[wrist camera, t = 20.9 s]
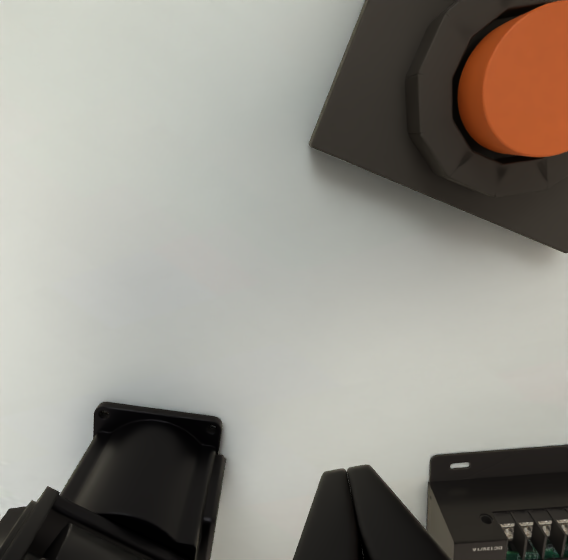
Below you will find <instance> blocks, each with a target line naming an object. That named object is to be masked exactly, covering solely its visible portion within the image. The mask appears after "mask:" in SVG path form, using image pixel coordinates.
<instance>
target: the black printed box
mask: <svg viewBox="0 0 568 560" xmlns="http://www.w3.org/2000/svg"><path fill="white" fill-rule="evenodd" d="M463 462H469V463H470V465H469V467H467V468H454V469H451V468H450V465H451V464H452V463H463ZM427 532H428V533H429V534H430V535H431V536H432V537H433V539H434V540H435V541H436V542H437V543H438V544H439V545H440V547H441V548H442V549H443V550H444V551H445V552H446V554H447V555H448V556H449V557H450V558H451V559H452V560H568V445H562V446H549V447H535V448H522V449H509V450H496V451H482V452H469V453H456V454H443V455H435V456H433V457H432V458H431V460H430V482H428V512H427Z"/></svg>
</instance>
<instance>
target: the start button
mask: <svg viewBox="0 0 568 560" xmlns="http://www.w3.org/2000/svg"><path fill="white" fill-rule="evenodd" d="M457 99H458V109H459V114H460V117H461V120H462V123H463V125H464V127H465V129H466V131H467V132H468V133H469V135H470V136H471V137H472V138H473V139H474V140H475V141H476V142H477V143H478V144H480V145H481V146H482V147H484V148H486V149H488V150H490V151H493V152H497V153H502V154H510V155H519V156H529V157H549V156H554V155H559V154H561V153H564V152H567V151H568V0H562V1H556V2H551V3H547V4H545V5H542V6H540V7H537V8H535V9H533V10H531V11H529V12H527V13H525V14H523V15H520V16H518V17H516V18H514V19H512V20H510V21H508V22H506V23H504V24H502V25H500V26H498V27H497V28H495V29H494V30H492V31H491V32H490V33H489V34H487V35H486V36H485V37H484V38H483V39H482V40H481V41H480V42H479V43H478V45H477V46H476V47H475V48H474V50H473V51H472V53H471V54H470V56H469V58H468V59H467V61H466V63H465V66H464V68H463V70H462V73H461V77H460V80H459V86H458V98H457Z"/></svg>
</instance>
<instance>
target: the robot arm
mask: <svg viewBox="0 0 568 560" xmlns="http://www.w3.org/2000/svg"><path fill="white" fill-rule="evenodd" d="M102 411H106V412H107V413H108V414H104V413H103V412H102ZM210 425H213V426H215V427H216V428H210V427H209V426H210ZM221 431H222V422H221V420H220V419H219V418H217V417H214V416H207V415H199V414H192V413H184V412H177V411H170V410H162V409H155V408H147V407H140V406H133V405H125V404H118V403H110V402H103V403H100V404H99V405H98V407H97V408H96V410H95V412H94V431H93V440H92V442H91V444H90V445H89V447H88V449H87V450H86V452H85V454H84V455H83V457H82V459H81V460H80V462H79V464H78V465H77V467H76V469H75V470H74V472H73V474H72V475H71V477H70V479H69V480H68V482H67V484H66V485H65V487H64V489H63V490H62V492H61V494H60V495H59V493H60V492H58V491H56V490H54V489H52V488H50V487H48V486H47V488H46V489H45V491H44V492H43V493H42V495H41V496H40V498H39V499H38V501H37V502H35V501H33V500H32V501H31V502H30V503H29V504H28V506H27V507H19V508H11V509H9V510H8V511H7V513H6V514H5V515H4V517H3V518H2V520H1V521H0V560H210V557H211V551H212V545H213V538H214V532H215V526H216V520H217V514H218V508H219V501H220V495H221V489H222V482H223V476H224V470H225V463H226V458H225V457H224V456H223V455H220V454H218V451H219V445H220V438H221ZM347 475H348V476H347ZM348 480H349V481H348ZM349 485H350V486H349ZM362 552H363V553H362ZM363 557H364V558H363ZM293 560H452V559H451V558H450V557H449V556H448V555H447V554H446V552H445V551H444V550H443V549H442V548H441V547H440V545H439V544H438V543H437V542H436V541H435V540H434V539H433V537H432V536H431V535H430V534H429V533H428V532H427V530H426V529H425V528H424V527H423V526H422V525H421V523H420V522H419V521H418V520H417V519H416V518H415V517H414V515H413V514H412V513H411V512H410V511H409V510H408V508H407V507H406V506H405V505H404V504H403V503H402V502H401V500H400V499H399V498H398V497H397V496H396V495H395V493H394V492H393V491H392V490H391V489H390V488H389V486H388V485H387V484H386V483H385V482H384V481H383V480H382V478H381V477H380V476H379V475H378V474H377V473H376V471H375V470H374V469H373V468H372V467H371V466H370V465H360V466H354V467H350V468H348V470H347V472H346V470H345V469H337V470H331V471H326V472H324V473H323V474H322V476H321V479H320V482H319V485H318V488H317V491H316V494H315V497H314V500H313V503H312V506H311V508H310V511H309V514H308V517H307V520H306V523H305V526H304V529H303V532H302V535H301V538H300V540H299V543H298V546H297V549H296V552H295V555H294V558H293Z"/></svg>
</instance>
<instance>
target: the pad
mask: <svg viewBox="0 0 568 560" xmlns="http://www.w3.org/2000/svg"><path fill="white" fill-rule="evenodd" d="M556 1H562V0H365V3H364V5H363V8H362V10H361V13H360V15H359V18H358V20H357V23H356V25H355V28H354V30H353V33H352V35H351V38H350V40H349V43H348V45H347V48H346V51H345V53H344V56H343V58H342V61H341V63H340V66H339V68H338V71H337V73H336V76H335V78H334V81H333V83H332V86H331V88H330V91H329V93H328V96H327V99H326V101H325V104H324V106H323V109H322V111H321V114H320V116H319V119H318V121H317V124H316V126H315V129H314V131H313V134H312V136H311V139H310V141H309V146H311V147H313V148H315V149H317V150H320V151H322V152H325V153H327V154H329V155H332V156H334V157H337V158H339V159H341V160H344V161H346V162H349V163H351V164H353V165H356V166H358V167H360V168H363V169H365V170H368V171H370V172H372V173H375V174H377V175H380V176H382V177H384V178H387V179H389V180H392V181H394V182H396V183H399V184H401V185H404V186H406V187H408V188H411V189H413V190H415V191H418V192H420V193H423V194H425V195H427V196H430V197H432V198H435V199H437V200H439V201H442V202H444V203H447V204H449V205H451V206H454V207H456V208H458V209H461V210H463V211H466V212H468V213H470V214H473V215H475V216H478V217H480V218H482V219H485V220H487V221H490V222H492V223H494V224H497V225H499V226H502V227H504V228H506V229H509V230H511V231H513V232H516V233H518V234H521V235H523V236H525V237H528V238H530V239H533V240H535V241H537V242H540V243H542V244H545V245H547V246H549V247H552V248H554V249H557V250H559V251H561V252H564V253H568V151H567V152H564V153H561V154H559V155H554V156H549V157H529V156H519V155H510V154H502V153H497V152H493V151H490V150H488V149H486V148H484V147H482V146H481V145H480V144H478V143H477V142H476V141H475V140H474V139H473V138H472V137H471V136H470V135H469V133H468V132H467V131H466V129H465V127H464V125H463V123H462V120H461V117H460V114H459V109H458V99H457V98H458V86H459V80H460V77H461V73H462V70H463V68H464V66H465V63H466V61H467V59H468V58H469V56H470V54H471V53H472V51H473V50H474V48H475V47H476V46H477V45H478V43H479V42H480V41H481V40H482V39H483V38H484V37H485V36H486V35H487V34H489V33H490V32H491V31H492V30H494V29H495V28H497V27H498V26H500V25H502V24H504V23H506V22H508V21H510V20H512V19H514V18H516V17H518V16H520V15H523V14H525V13H527V12H529V11H531V10H533V9H535V8H537V7H540V6H542V5H545V4H547V3H551V2H556Z"/></svg>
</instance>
